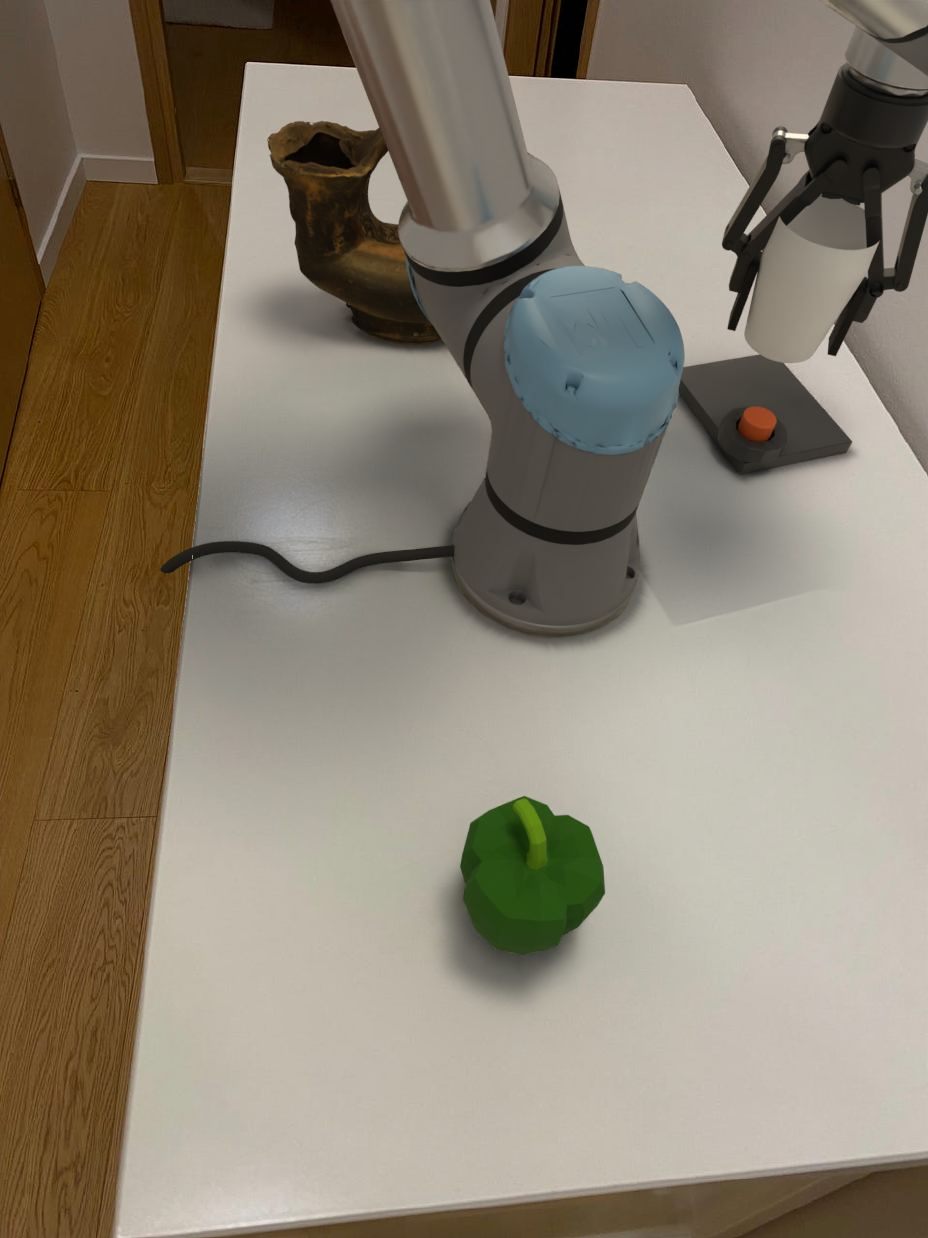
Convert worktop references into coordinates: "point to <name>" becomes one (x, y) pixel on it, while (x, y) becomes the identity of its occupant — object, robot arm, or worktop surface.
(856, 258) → the cup
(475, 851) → the bell pepper
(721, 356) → the worktop surface
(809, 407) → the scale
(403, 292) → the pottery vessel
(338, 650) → the worktop surface
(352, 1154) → the worktop surface
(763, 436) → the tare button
